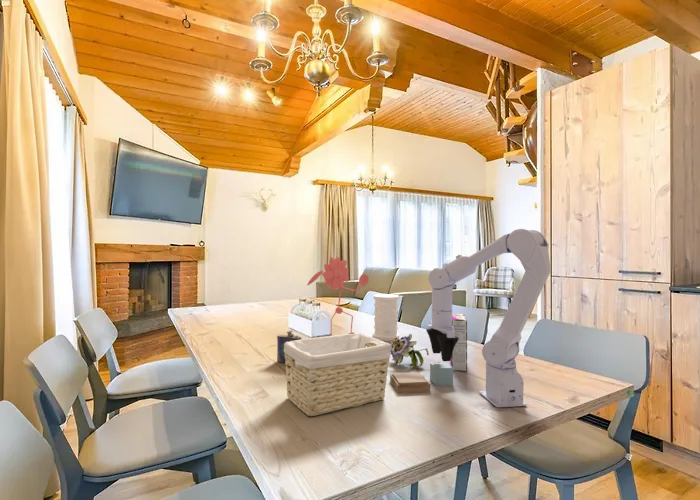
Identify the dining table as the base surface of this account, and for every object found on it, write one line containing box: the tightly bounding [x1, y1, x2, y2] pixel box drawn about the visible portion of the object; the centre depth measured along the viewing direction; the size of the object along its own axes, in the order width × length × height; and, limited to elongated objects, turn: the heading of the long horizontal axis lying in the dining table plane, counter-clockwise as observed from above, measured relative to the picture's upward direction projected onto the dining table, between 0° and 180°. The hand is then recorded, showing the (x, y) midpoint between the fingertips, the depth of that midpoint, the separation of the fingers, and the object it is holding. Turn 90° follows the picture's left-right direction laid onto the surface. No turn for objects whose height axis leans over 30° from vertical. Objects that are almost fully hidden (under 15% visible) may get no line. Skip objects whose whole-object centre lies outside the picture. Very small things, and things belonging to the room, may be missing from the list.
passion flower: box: [390, 333, 430, 370], centre depth 127 cm, size 11×11×12 cm
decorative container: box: [371, 293, 400, 342], centre depth 164 cm, size 12×12×18 cm
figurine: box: [306, 256, 370, 336], centre depth 147 cm, size 15×26×35 cm, turn 127°
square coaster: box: [389, 371, 431, 394], centre depth 106 cm, size 9×9×2 cm
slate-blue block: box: [429, 362, 454, 387], centre depth 110 cm, size 5×5×5 cm
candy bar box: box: [449, 312, 468, 372], centre depth 125 cm, size 11×5×16 cm, turn 168°
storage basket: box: [284, 333, 392, 417], centre depth 97 cm, size 24×16×15 cm
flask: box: [276, 330, 302, 364], centre depth 127 cm, size 9×3×11 cm, turn 65°
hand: (441, 356), depth 110 cm, fingers open, 7 cm apart
